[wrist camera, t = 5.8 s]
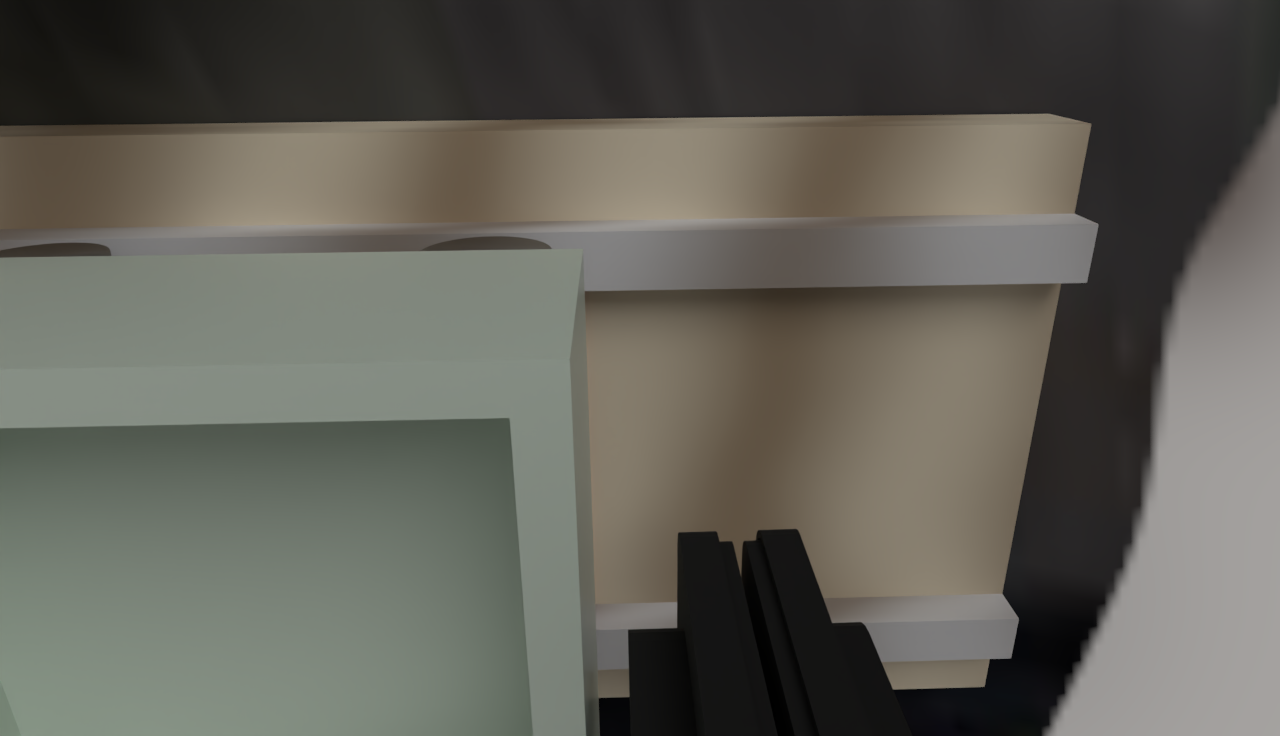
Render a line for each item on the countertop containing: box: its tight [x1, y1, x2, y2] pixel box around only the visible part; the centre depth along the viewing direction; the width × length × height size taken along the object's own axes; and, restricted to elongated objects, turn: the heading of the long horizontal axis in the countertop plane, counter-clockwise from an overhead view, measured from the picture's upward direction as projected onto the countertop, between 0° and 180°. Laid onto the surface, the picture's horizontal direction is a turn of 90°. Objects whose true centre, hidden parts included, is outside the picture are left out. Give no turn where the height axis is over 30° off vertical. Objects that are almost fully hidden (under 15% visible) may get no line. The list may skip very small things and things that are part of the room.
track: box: [0, 114, 1099, 698], centre depth 17 cm, size 22×12×2 cm, turn 91°
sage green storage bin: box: [0, 236, 600, 736], centre depth 12 cm, size 10×10×6 cm
